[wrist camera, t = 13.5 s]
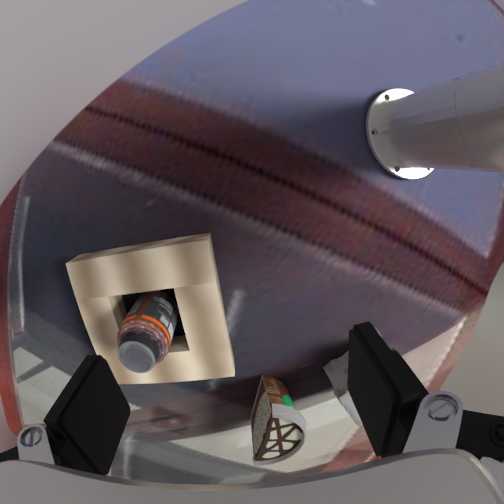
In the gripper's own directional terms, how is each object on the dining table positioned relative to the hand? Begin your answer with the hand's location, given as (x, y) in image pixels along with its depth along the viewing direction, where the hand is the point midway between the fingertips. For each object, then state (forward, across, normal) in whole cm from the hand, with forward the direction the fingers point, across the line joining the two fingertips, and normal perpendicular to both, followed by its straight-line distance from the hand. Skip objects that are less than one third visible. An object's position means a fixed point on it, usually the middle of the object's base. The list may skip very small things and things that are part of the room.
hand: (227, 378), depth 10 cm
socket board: (+25, +12, +9) cm, 29 cm away
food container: (+26, -2, +27) cm, 37 cm away
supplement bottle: (+26, +12, +9) cm, 29 cm away
